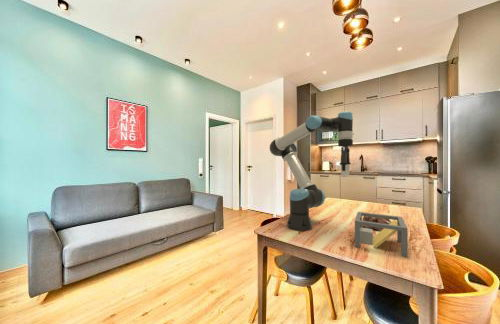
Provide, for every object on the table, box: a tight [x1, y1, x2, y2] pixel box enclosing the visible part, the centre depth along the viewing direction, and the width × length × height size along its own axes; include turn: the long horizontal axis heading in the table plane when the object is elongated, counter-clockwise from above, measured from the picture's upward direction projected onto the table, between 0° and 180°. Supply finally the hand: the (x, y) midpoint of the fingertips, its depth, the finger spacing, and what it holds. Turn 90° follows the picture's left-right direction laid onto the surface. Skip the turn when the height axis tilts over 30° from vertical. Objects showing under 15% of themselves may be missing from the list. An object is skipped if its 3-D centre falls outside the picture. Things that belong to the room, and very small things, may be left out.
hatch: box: [373, 220, 398, 249], centre depth 96 cm, size 14×14×1 cm
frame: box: [354, 211, 409, 258], centre depth 98 cm, size 20×20×12 cm
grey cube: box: [360, 227, 374, 246], centre depth 101 cm, size 6×6×6 cm
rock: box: [362, 216, 392, 232], centre depth 119 cm, size 16×11×15 cm
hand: (345, 176), depth 113 cm, fingers open, 13 cm apart
